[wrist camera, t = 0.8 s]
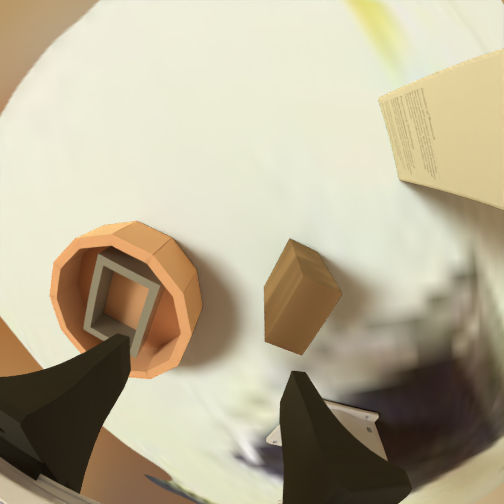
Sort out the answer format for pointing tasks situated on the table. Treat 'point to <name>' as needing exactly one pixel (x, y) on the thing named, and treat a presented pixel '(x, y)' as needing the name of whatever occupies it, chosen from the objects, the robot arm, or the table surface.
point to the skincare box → (452, 129)
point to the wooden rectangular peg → (298, 298)
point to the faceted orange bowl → (128, 294)
